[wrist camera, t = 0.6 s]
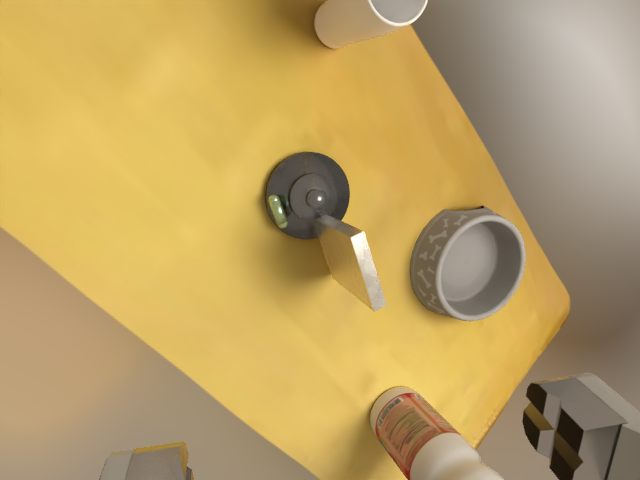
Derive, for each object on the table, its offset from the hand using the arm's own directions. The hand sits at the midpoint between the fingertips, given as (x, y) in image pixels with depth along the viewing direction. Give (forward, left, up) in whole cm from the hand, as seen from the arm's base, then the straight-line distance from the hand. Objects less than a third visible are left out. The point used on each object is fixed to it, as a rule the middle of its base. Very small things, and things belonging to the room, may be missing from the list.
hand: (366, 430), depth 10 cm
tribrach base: (+5, +13, -44) cm, 46 cm away
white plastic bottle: (+43, +15, -44) cm, 63 cm away
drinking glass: (-13, +23, -44) cm, 51 cm away
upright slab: (+9, +12, -43) cm, 45 cm away
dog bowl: (+24, +33, -44) cm, 60 cm away
